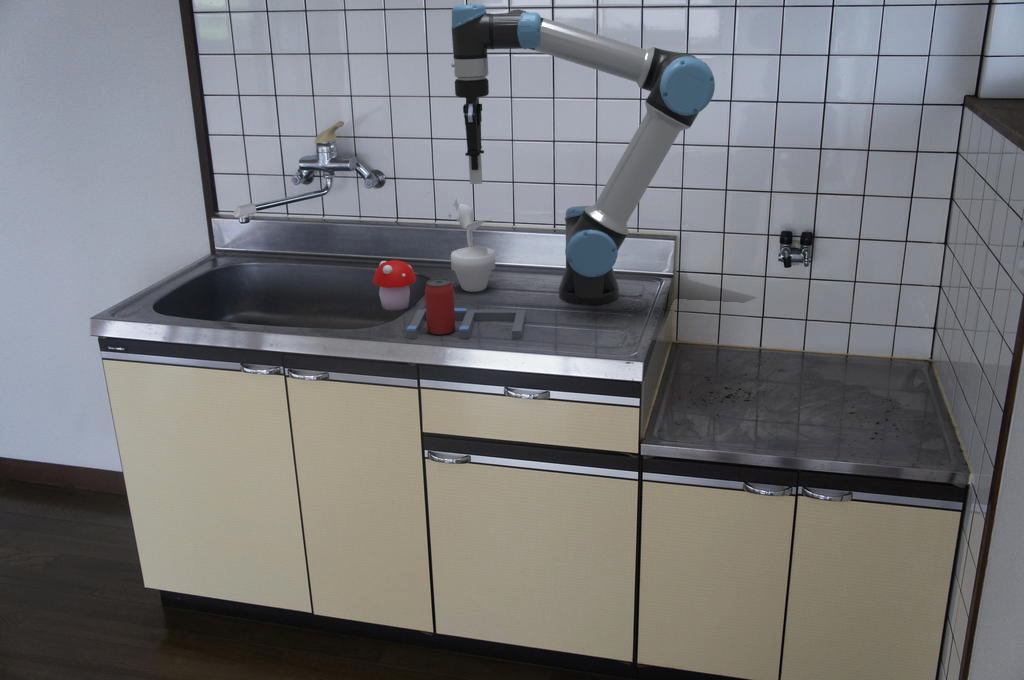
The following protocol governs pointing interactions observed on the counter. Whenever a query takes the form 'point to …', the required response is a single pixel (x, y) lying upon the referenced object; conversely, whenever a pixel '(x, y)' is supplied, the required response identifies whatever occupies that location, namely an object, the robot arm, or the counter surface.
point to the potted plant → (471, 255)
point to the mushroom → (394, 284)
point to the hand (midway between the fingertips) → (476, 183)
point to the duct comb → (472, 321)
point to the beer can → (440, 306)
